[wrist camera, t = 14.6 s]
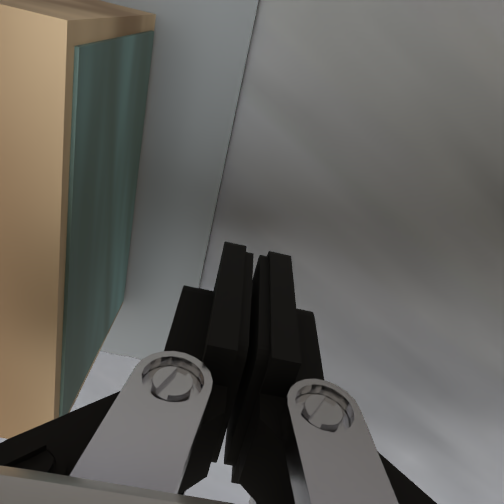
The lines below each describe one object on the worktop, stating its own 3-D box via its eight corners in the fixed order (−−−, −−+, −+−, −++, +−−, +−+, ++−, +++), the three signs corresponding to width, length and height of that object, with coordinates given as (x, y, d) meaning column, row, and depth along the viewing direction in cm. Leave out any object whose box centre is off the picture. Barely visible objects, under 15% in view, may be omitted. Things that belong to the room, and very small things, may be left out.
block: (158, 15, 13) (72, 21, 7) (125, 303, 18) (55, 447, 12) (29, -18, 13) (-166, -37, 7) (29, 284, 17) (-89, 421, 12)
